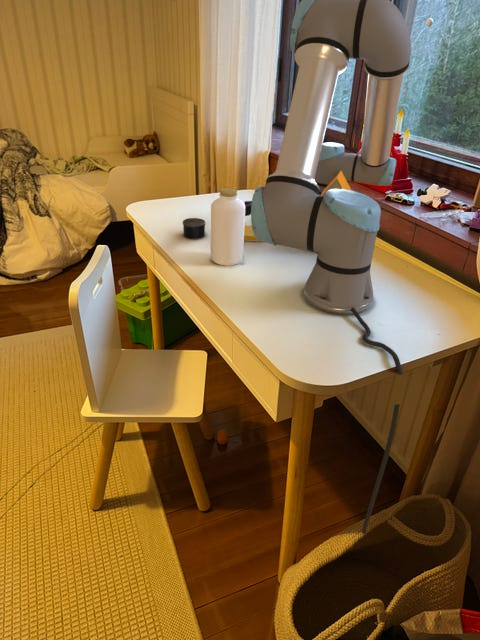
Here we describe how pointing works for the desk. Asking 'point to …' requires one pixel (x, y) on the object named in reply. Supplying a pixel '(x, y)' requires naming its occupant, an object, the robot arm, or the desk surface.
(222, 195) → the potion bottle
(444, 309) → the desk surface
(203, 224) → the dark tin
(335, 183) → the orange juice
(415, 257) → the desk surface
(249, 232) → the mustard block
